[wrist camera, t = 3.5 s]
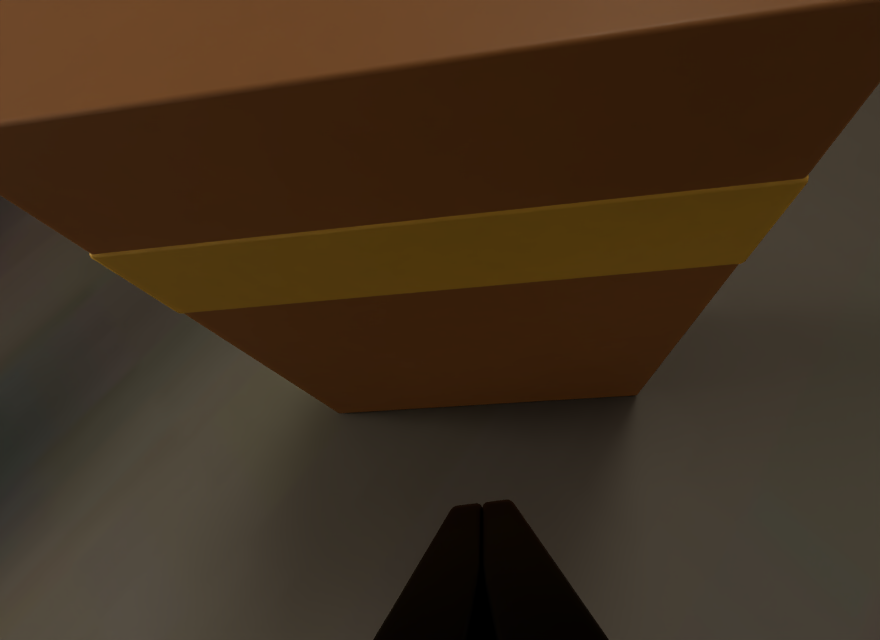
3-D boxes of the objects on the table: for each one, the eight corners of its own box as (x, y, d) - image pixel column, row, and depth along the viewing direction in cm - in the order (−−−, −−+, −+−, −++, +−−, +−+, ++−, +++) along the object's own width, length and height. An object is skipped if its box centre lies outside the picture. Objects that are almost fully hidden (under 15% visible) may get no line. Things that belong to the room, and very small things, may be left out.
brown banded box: (639, 396, 21) (967, -12, 5) (336, 415, 22) (-101, 141, 7) (624, 310, 22) (851, -217, 7) (340, 333, 24) (-18, -50, 8)
